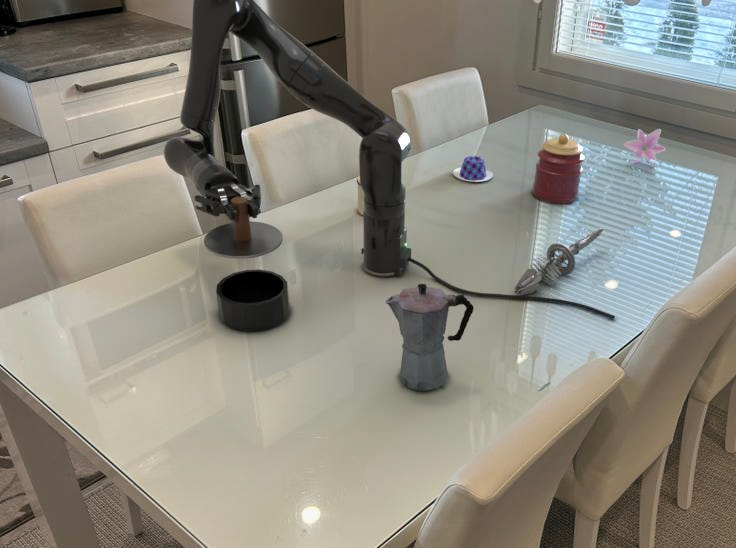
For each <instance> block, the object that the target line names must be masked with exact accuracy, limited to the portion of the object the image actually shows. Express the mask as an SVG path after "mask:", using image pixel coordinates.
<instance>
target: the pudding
mask: <svg viewBox="0 0 736 548" xmlns="http://www.w3.org/2000/svg"><path fill="white" fill-rule="evenodd" d="M452 175H453V176H454V177H456V178H457V179H459V180H462V181H466V182H473V183H474V182H475V183H478V182H486V181H489V180H491V179H492V178H493V177H494V173H493V172H492V170H489V169H487V168H486V163H485V160H484V159H483V158H482V157H480V156H476V155H469V156H467V157H465V158H464V159H463V161H462V165H461V166H460V167H456V168H454V170H452Z"/></svg>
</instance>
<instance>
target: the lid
mask: <svg viewBox="0 0 736 548" xmlns="http://www.w3.org/2000/svg"><path fill="white" fill-rule="evenodd" d="M231 205H232V206H233V207H234V208H235V209H236V210H237V212H238V219H239V221H238V222H234V221H233V222H228V223H225V224H221V225H219V226H216V227H214V228H212V229H211V230H210V231H208V232H207V233H206V234H205V236H204V238H203V245H204V247H205V249H206V250H207V251H208V252H209V253H211V254H213V255H216V256H218V257H221V258H226V259H233V260H234V259H235V260H246V259H253V258H259V257H262V256H266V255H268V254H271V253H272V252H275V251H276V250H277V249H278V248H279V247H280V246H281V245H282V243H283V240H284V237H283V232H281V230H279V228H277V227H275V225H272V224H268V223H265V222H260V221H250V215H249V211H248V201H247V198H245V197H235V198H232V199H231Z"/></svg>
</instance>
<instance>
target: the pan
mask: <svg viewBox="0 0 736 548" xmlns="http://www.w3.org/2000/svg"><path fill="white" fill-rule="evenodd" d="M215 293H216V301H217V309H218V316H219V318H220V320H221V323H222V324H223V325H224V326H226V327H227V328H229V329H231V330H234V331H237V332H242V333H261V332H265V331H269V330H272V329H274V328H277V327H279V326H281V325H282V324H284V323H285V322H286V320H287V319H288V318H289V315H290V301H289V288H288V281H287V279H285V278H284V276H283V275H282V274H278V273H277V272H275V271H271V270H265V269H245V270H241V271H236V272H233V273H230V274H229V275H227V276H225V277H223V278H222V279H221V280H220V281H218V283H217V284H216V290H215Z"/></svg>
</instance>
